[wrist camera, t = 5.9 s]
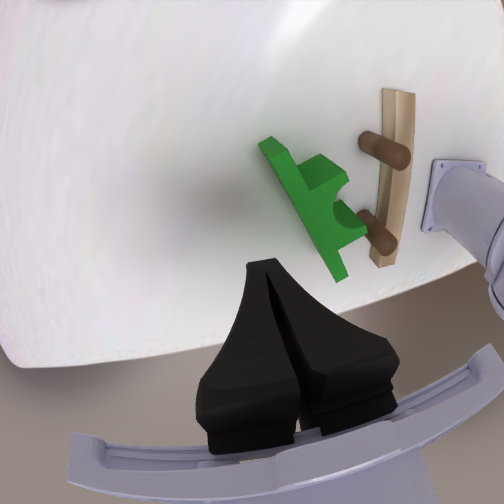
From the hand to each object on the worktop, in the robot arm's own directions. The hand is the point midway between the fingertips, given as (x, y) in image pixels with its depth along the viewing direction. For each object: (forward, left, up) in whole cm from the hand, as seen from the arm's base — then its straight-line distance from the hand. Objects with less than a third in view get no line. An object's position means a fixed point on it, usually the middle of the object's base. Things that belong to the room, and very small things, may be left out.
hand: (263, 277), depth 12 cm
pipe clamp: (-5, 0, -10) cm, 11 cm away
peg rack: (-11, 0, -9) cm, 14 cm away
